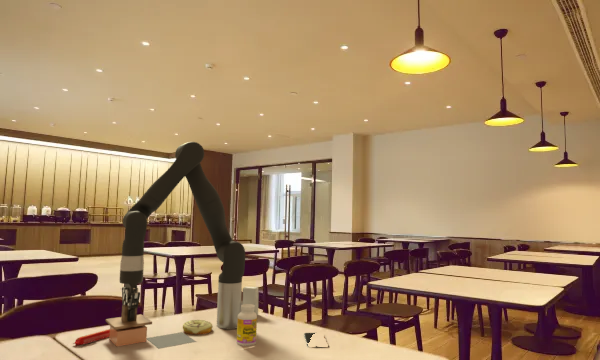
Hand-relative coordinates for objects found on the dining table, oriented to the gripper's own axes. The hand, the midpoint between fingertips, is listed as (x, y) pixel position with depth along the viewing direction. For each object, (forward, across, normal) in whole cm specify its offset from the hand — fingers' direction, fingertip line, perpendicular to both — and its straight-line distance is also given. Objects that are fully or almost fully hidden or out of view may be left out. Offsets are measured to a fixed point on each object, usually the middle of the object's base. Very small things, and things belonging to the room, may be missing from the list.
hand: (129, 319), depth 137 cm
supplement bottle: (+8, -25, -32) cm, 41 cm away
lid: (+1, 0, 0) cm, 1 cm away
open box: (+7, 0, 0) cm, 7 cm away
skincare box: (+8, +7, -53) cm, 54 cm away
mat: (+7, -8, -12) cm, 16 cm away
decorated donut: (+8, -3, -24) cm, 25 cm away
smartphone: (+8, -36, -54) cm, 65 cm away
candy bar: (+8, +7, +8) cm, 13 cm away
